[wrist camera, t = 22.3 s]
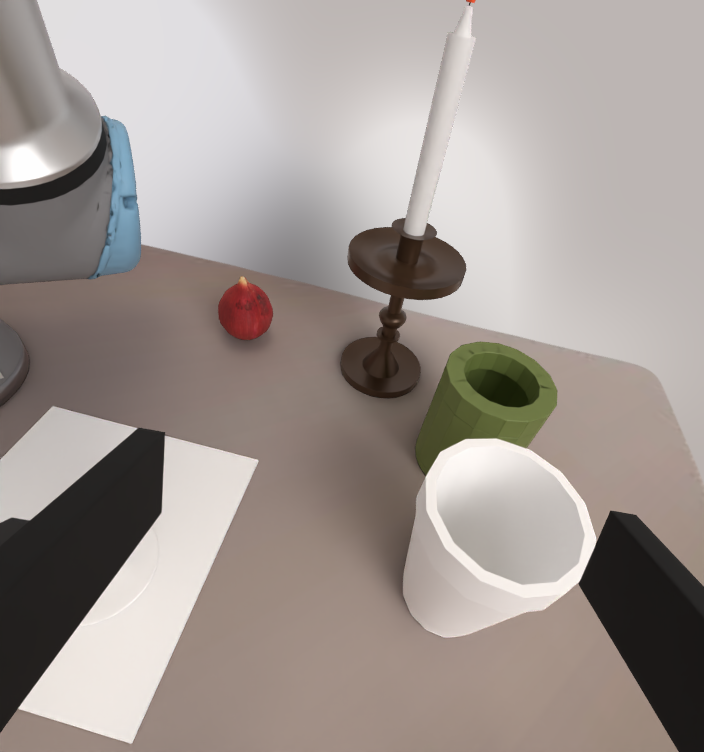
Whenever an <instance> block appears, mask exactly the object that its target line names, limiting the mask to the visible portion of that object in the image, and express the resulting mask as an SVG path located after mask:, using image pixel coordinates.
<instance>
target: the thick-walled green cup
mask: <svg viewBox="0 0 704 752" xmlns="http://www.w3.org/2000/svg"><path fill="white" fill-rule="evenodd" d="M556 405H557V389H556V387H555V385H554V382H553V380H552V378H551V376H550V375H549V374H548V373H547V372H546V371H545V370H544V369H543V368H542V367H541V366H540V365H539V364H538V363H537V362H536V361H535V360H534V359H532V358H530V357H529V356H527V355H525V354H524V353H522V352H520V351H519V350H517V349H514V348H511V347H508V346H505V345H502V344H499V343H489V342H475V343H470V344H465V345H461V346H460V347H459V348H457V349H456V350H455V351H453V352H452V353H451V354H450V356H449V359H448V362H447V364H446V367H445V369H444V372H443V374H442V377H441V379H440V382H439V384H438V387H437V390H436V392H435V395H434V397H433V400H432V402H431V405H430V407H429V410H428V413H427V415H426V418H425V420H424V423H423V425H422V428H421V431H420V433H419V436H418V439H417V442H416V447H415V451H416V458H417V461H418V464H419V466H420V468H421V470H422V471H423V472H424V474H425V475H427V474H428V472H429V470H430V469H431V467H432V465H433V463H434V462H435V460H436V458H437V457H438V455H439V453H440V452H441V451H443V450H445V449H447V448H449V447H451V446H453V445H455V444H457V443H459V442H461V441H463V440H465V439H500V440H503V441H506V442H509V443H512V444H514V445H517V446H520V447H523V448H527V447H528V445H529V444H530V443H531V441H532V440H533V438H534V437H535V435H536V434H537V433H538V431H539V430H540V428H541V427H542V426H543V424H544V423H545V421H546V420H547V418H548V417H549V416H550V414H551V413H552V411H553V410H554V408H555V407H556Z"/></svg>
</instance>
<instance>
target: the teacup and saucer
mask: <svg viewBox="0 0 704 752" xmlns="http://www.w3.org/2000/svg"><path fill="white" fill-rule="evenodd" d="M159 558H160V542H159V538H158V535H157V533H156V531H155V529H154V528H153V527H151V528H150V529H149V531H148V532H147V533H146V535H145V536H144V537H143V539H142V540H141V542H140V543H139V544H138V546H137V547H136V548H135V550H134V551H133V552H132V554H131V555H130V557H129V558H128V559H127V561H126V562H125V563H124V565H123V566H122V567H121V569H120V570H119V572H118V573H117V574H116V576H115V577H114V578H113V580H112V581H111V582H110V584H109V585H108V587H107V588H106V589H105V591H104V592H103V593H102V595H101V596H100V597H99V599H98V600H97V602H96V603H95V604H94V606H93V607H92V608H91V610H90V611H89V612H88V614H87V615H86V616H85V618H84V619H83V621H82V622H81V623H80V625H79V627H85V626H90V625H94V624H98V623H101V622H103V621H106V620H108V619H110V618H112V617H114V616H116V615H117V614H119V613H121V612H122V611H124V610H125V609H126V608H128V607H129V606H130V605H131V604H132V603H133V602H134V601H136V600H137V599H138V597H139V596H140V595H141V594H142V593H143V592H144V591H145V589H146V588H147V587H148V585H149V584H150V582H151V580H152V578H153V576H154V574H155V572H156V570H157V567H158V563H159Z"/></svg>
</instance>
